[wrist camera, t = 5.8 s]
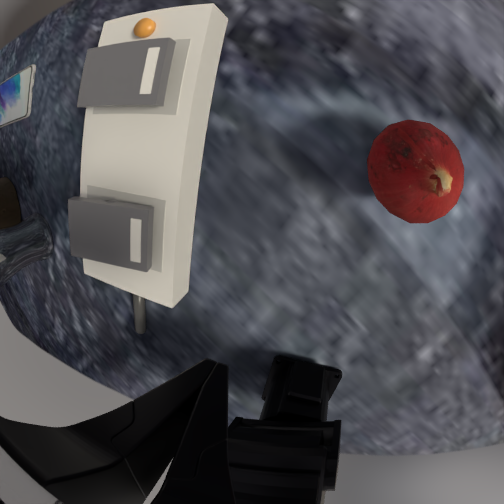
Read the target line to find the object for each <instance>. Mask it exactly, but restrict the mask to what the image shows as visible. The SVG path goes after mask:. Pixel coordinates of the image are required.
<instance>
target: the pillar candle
mask: <svg viewBox="0 0 504 504" xmlns="http://www.w3.org/2000/svg"><path fill="white" fill-rule="evenodd" d="M20 214H21V213H20V207H19V202H18V198H17V194H16V190H15V188H14V185H13V184H12V182H11V181H10V180H9V179H8V178H6V177H3V178H0V228H2V227H7V226H11V225H14V224H16V223H19V222H20V221H21V216H20Z"/></svg>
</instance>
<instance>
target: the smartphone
mask: <svg viewBox="0 0 504 504" xmlns="http://www.w3.org/2000/svg"><path fill="white" fill-rule="evenodd" d="M35 71H36V65H30V66H29V67H27V68H25V69H24V70H22V71H20V72H19V73H17V74H15V75H14V76H12V77H11V78H9V79H7V80H6V81H4V82H3V83H1V84H0V128H1V127H4V126H6V125H9V124H11V123H14V122H17V121H19V120H22V119H25V118H28V117H29V115H30V112H31V102H32V88H33V84H34V76H35Z"/></svg>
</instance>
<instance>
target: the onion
mask: <svg viewBox="0 0 504 504" xmlns="http://www.w3.org/2000/svg"><path fill="white" fill-rule="evenodd" d="M367 166H368V178H369V182H370V185H371V187H372V189H373V191H374V194H375V196H376V198H377V200H378V201H379V202H380V203H381V204H382V205H383V206H384V207H385V208H386V209H387V210H388V211H389V212H390V213H391V214H393V215H395V216H397V217H399V218H401V219H403V220H405V221H407V222H409V223H429V222H432V221H434V220H436V219H438V218H440V217H443V216H445V215H446V214H447V213H448V212H449V211H450V210H451V209H452V208H453V207H454V206H455V205H456V203H457V201H458V199H459V196H460V194H461V191H462V189H463V181H464V166H463V163H462V160H461V156H460V153H459V150H458V149H457V147H456V146H455V145H454V143H453V142H452V141H451V139H450V138H449V137H448V136H447V135H446V134H445V133H444V132H442V131H441V130H439V129H438V128H436V127H435V126H433V125H432V124H430V123H426V122H420V121H414V120H405V121H401V122H398V123H394V124H391V125H388V126H387V127H386V128H385V129H384V130H383V131H382V132H381V133H380V134H379V135H378V136H377V137H376V138H375V139H374V141H373V144H372V147H371V150H370V153H369V156H368V158H367Z"/></svg>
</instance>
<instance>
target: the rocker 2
mask: <svg viewBox="0 0 504 504" xmlns="http://www.w3.org/2000/svg"><path fill="white" fill-rule="evenodd" d="M68 218H69V236H70V248H71V255H72V256H76V257H80V258H85V259H89V260H93V261H97V262H102V263H106V264H111V265H115V266H120V267H124V268H129V269H133V270H138V271H143V272H148V271H149V269H150V268H151V267H152V239H153V218H154V207H151V206H144V205H137V204H130V203H123V202H118V200H115V199H108V200H101V199H93V198H85V197H77V196H75V197H72V198H70V199H68Z"/></svg>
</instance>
